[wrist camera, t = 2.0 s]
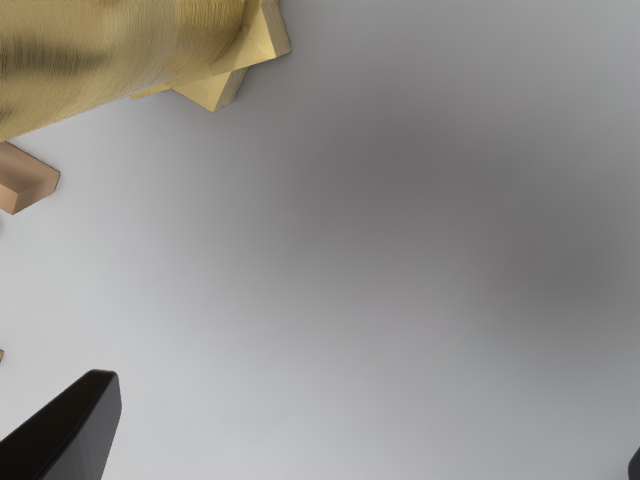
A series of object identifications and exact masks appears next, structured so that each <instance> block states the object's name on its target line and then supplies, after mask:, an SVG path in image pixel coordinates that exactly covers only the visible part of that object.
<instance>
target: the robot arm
mask: <svg viewBox="0 0 640 480" xmlns="http://www.w3.org/2000/svg"><path fill="white" fill-rule="evenodd" d="M121 409H122V403H121V395H120V387H119V378H118V375H117V373H116V372H113V371H107V370H99V369H93V370H90V371H88V372H87V373H85V374H84V375H83V376H82V377H80V378H79V379H78V380H77V381H75V382H74V383H73V384H72V385H70V386H69V387H68V388H67V389H65V390H64V391H63V392H62V393H60V394H59V395H58V396H57V397H55V398H54V399H53V400H52V401H50V402H49V403H48V404H47V405H45V406H44V407H43V408H42V409H40V410H39V411H38V412H37V413H35V414H34V415H33V416H32V417H30V418H29V419H28V420H27V421H25V422H24V423H23V424H22V425H20V426H19V427H18V428H17V429H15V430H14V431H13V432H12V433H10V434H9V435H8V436H7V437H5V438H4V439H3V440H2V441H0V480H101V478H102V474H103V471H104V468H105V465H106V461H107V458H108V455H109V452H110V449H111V445H112V442H113V439H114V436H115V432H116V429H117V426H118V423H119V419H120V415H121ZM628 476H629V480H640V447H639V449H638V450H637V451H636V453H635V454H634V456H633V457H632V459H631V460H630V462H629V466H628Z"/></svg>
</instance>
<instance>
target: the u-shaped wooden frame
mask: <svg viewBox="0 0 640 480" xmlns="http://www.w3.org/2000/svg"><path fill="white" fill-rule="evenodd" d="M59 175H60V173H59V172H58V171H56V170H54V169H53V168H51V167H49V166H47V165H46V164H44V163H42V162H40V161H39V160H37V159H35V158H34V157H32V156H30V155H28V154H27V153H25V152H23V151H22V150H20V149H18V148H16V147H15V146H13V145H11V144H9V143H8V142H6V141H3V142H0V209H2V210H4V211H6V212H7V213H9V214H11V215H14V214H15V213H17V212H19V211H21V210H23V209H24V208H26V207H28V206H30V205H32V204H34V203H35V202H37V201H39V200H41V199H43V198H45V197H46V196H48V195H50V194H52V193H54V190H55V187H56V184H57V181H58V178H59ZM2 354H3V351H1V350H0V360H1V357H2Z"/></svg>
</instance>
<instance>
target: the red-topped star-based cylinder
mask: <svg viewBox="0 0 640 480" xmlns="http://www.w3.org/2000/svg"><path fill="white" fill-rule="evenodd" d="M278 2H279V0H0V142H3V141H6V140H9V139H11V138H14V137H17V136H19V135H22V134H25V133H28V132H30V131H33V130H36V129H39V128H41V127H44V126H47V125H50V124H52V123H55V122H58V121H61V120H63V119H66V118H69V117H71V116H74V115H77V114H80V113H82V112H85V111H88V110H91V109H93V108H96V107H99V106H102V105H104V104H107V103H110V102H112V101H115V100H118V99H121V98H123V97H126V96H129V95H130V96H131V99H132V100H134V99H137V98H140V97H144V96H147V95H151V94H154V93H158V92H161V91H164V90H168V89H171V88H172V89H174V90H175V91H177V92H179V93H180V94H182V95H184V96H185V97H187V98H189V99H190V100H192V101H194V102H195V103H197V104H199V105H200V106H202V107H204V108H205V109H207V110H209V111H210V112H212V113H213V112H215V111H217V110H218V109H220V108H222V107H224V106H225V105H227V104H229V103H231V102H232V101H233V100H234V98H235V96H236V93H237V91H238V89H239V87H240V85H241V83H242V80H243V78H244V76H245V74H246V72H247V70H248V67H249V66H250V65H254V64H257V63H260V62H264V61H267V60H271V59H274V58H277V57H279V56H281V55H284V54H286V53H288V52H290V51H292V50H291V47H290V43H289V40H288V36H287V33H286V29H285V26H284V22H283V19H282V15H281V12H280V8H279V5H278Z"/></svg>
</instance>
